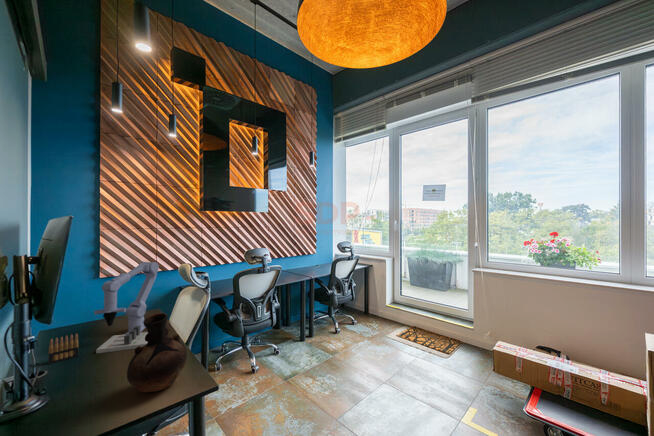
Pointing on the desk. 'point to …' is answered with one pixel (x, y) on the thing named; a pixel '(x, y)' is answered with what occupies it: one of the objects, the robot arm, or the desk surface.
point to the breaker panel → (122, 343)
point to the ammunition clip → (63, 349)
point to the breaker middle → (133, 333)
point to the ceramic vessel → (157, 357)
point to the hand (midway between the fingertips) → (110, 325)
